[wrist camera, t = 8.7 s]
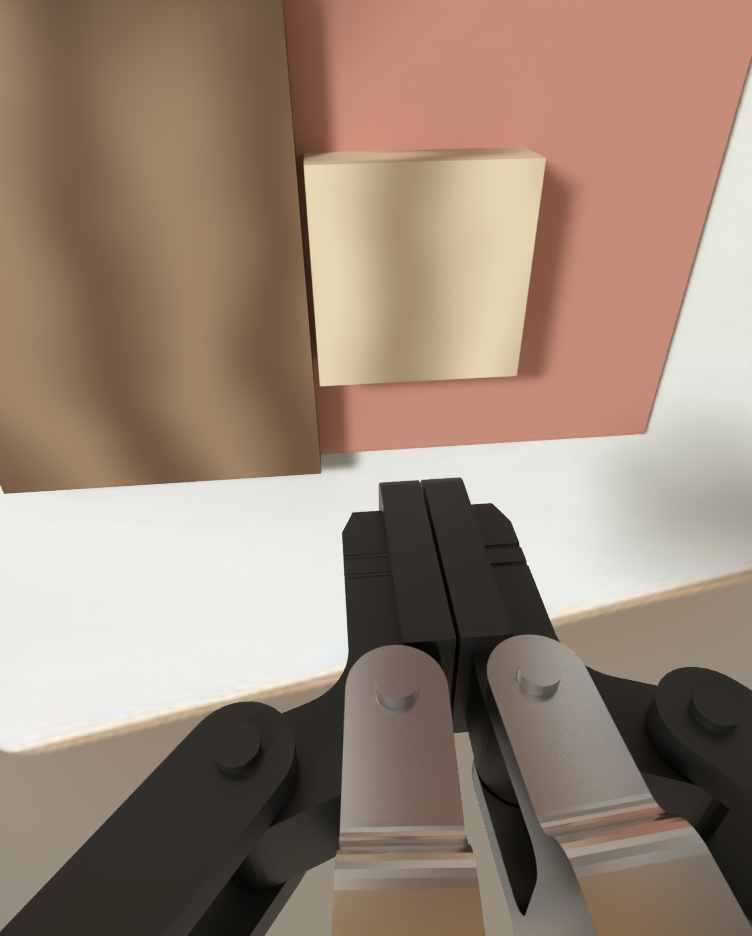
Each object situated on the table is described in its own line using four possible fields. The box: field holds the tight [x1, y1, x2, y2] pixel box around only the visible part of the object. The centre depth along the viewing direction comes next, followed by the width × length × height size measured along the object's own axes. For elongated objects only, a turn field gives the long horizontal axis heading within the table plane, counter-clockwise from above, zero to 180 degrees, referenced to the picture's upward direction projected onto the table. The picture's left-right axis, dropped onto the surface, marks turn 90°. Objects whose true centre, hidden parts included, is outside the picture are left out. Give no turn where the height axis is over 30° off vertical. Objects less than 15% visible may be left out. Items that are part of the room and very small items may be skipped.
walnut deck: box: [0, 0, 321, 494], centre depth 23 cm, size 14×18×2 cm
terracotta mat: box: [284, 0, 752, 454], centre depth 25 cm, size 16×18×1 cm
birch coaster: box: [304, 147, 546, 386], centre depth 23 cm, size 8×8×2 cm
